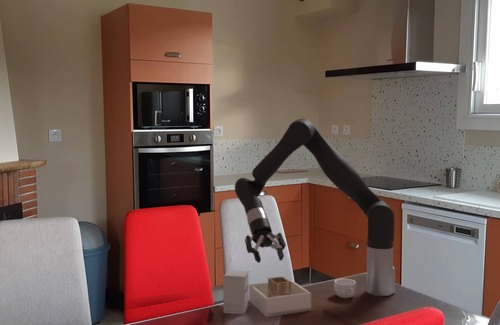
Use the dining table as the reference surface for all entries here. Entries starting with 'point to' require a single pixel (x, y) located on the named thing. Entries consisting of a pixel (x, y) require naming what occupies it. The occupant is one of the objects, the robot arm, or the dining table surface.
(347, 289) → the teacup
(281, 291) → the small wooden crate
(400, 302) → the dining table surface
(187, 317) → the dining table surface
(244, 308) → the supplement box
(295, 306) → the big plastic crate
